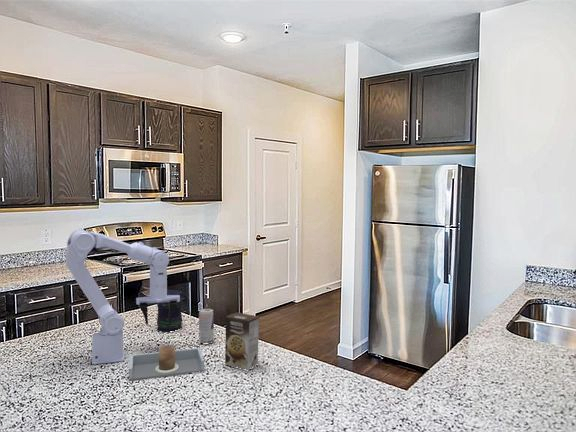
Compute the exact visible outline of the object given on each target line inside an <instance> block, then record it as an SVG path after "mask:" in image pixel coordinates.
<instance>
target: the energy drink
mask: <svg viewBox="0 0 576 432" xmlns="http://www.w3.org/2000/svg"><path fill="white" fill-rule="evenodd" d="M214 313H215V312H214V309H212V308H202V309H199V313H198V343H199V342H200V343H211V342H213V343H214V342H215V341H214V339H215V338H214V337H215V335H214V331H215V330H214V325H215V324H214V323H215V321H214V319H215V314H214ZM200 343H199V344H200Z"/></svg>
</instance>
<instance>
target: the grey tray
mask: <svg viewBox="0 0 576 432" xmlns="http://www.w3.org/2000/svg"><path fill="white" fill-rule="evenodd" d="M128 369H129V373H128V377H129V379H128V380H129V382H132V381H134V382H135V381H140V380H149V379H156V378H158V379H159V378H165V376H166V377H173V376H172V375H175V376H180V375H179V374H183V375H187V374H186V373H191V374H193V373H192V372H199V371H204V372H205V359H204V356H203V353H202V349H201V347H196V348H195V347H194V348H186V349H185V348H184V349H178V350H177V349H175V368H173V369H171V370H166V371H164V370H160V369H159V351H157V352H148V353H139V354H130V358H129V368H128ZM199 373H200V372H199Z"/></svg>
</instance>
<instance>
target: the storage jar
mask: <svg viewBox="0 0 576 432" xmlns="http://www.w3.org/2000/svg"><path fill="white" fill-rule="evenodd" d="M167 295H180V302H177V305H176V308H175V310H174V312H173V315H172V319H171V323H169V302H160V303H156V306H157V317H156V319H157V320H156V324H157V329H156V330H157V331H158V330H159V331H162V332H161V333H165V332H169V333H171V332H170V331H175V330H178V329H180V328H182V329H183V327H182V325H183V314H182V306H183V291H182V290H180V289H167ZM159 331H158V332H159Z"/></svg>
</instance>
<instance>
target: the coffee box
mask: <svg viewBox="0 0 576 432" xmlns="http://www.w3.org/2000/svg"><path fill="white" fill-rule="evenodd" d="M259 330H260V316H258V315H254V314H253V315H252V314H247V313H241V312H235V313H231V314H229V315H226V316H225V344H224V345H225V350H224V351H225V353H224V354H225V359H224V360H225V361H224V365H225V366H226V365H229V366H233V367H238V368H241V369H246V370H249V369H250V368H252V367H253V366H255V365H256V364H258V365H259V333H260V332H259ZM229 366H228V367H229ZM233 367H232V368H233ZM255 367H256V366H255ZM241 369H240V370H241ZM252 369H253V368H252ZM249 371H250V370H249Z"/></svg>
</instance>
